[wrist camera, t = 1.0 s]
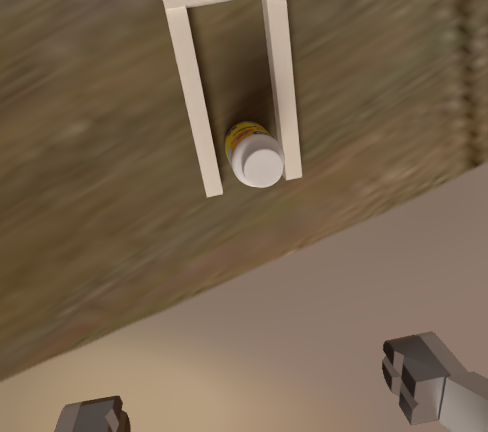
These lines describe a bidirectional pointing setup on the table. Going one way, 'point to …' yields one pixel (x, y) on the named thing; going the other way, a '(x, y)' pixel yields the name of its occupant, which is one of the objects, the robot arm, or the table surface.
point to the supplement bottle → (254, 154)
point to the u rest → (280, 81)
